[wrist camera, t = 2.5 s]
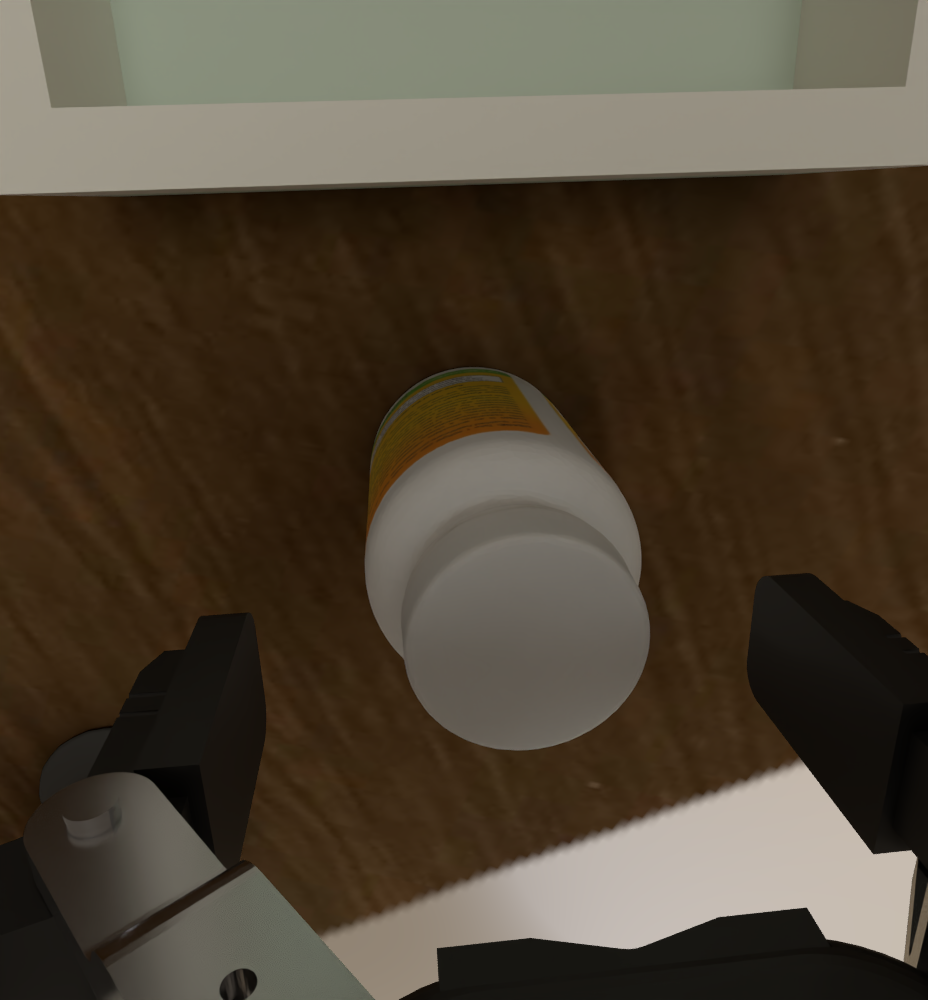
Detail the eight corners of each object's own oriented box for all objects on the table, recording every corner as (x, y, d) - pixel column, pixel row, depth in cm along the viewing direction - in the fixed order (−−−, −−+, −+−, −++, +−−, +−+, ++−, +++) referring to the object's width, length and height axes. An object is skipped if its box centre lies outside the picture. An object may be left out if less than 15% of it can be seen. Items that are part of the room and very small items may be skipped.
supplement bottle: (335, 498, 22) (296, 714, 13) (433, 324, 20) (468, 426, 11) (502, 582, 23) (576, 831, 14) (605, 424, 21) (762, 588, 12)
